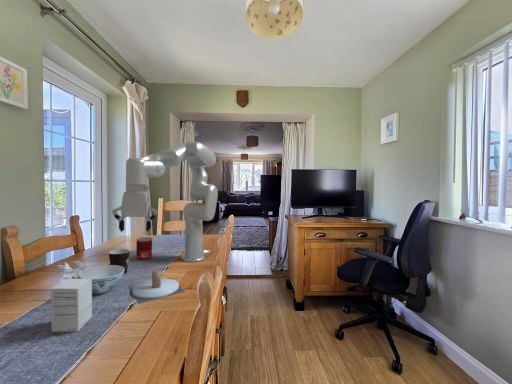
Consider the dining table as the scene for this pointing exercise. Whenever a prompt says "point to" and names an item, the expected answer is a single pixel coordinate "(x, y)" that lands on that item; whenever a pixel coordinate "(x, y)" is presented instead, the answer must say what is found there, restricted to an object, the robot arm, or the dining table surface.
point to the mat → (154, 299)
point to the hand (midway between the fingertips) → (135, 230)
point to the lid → (155, 287)
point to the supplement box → (71, 305)
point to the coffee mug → (120, 258)
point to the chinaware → (103, 277)
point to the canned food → (144, 248)
